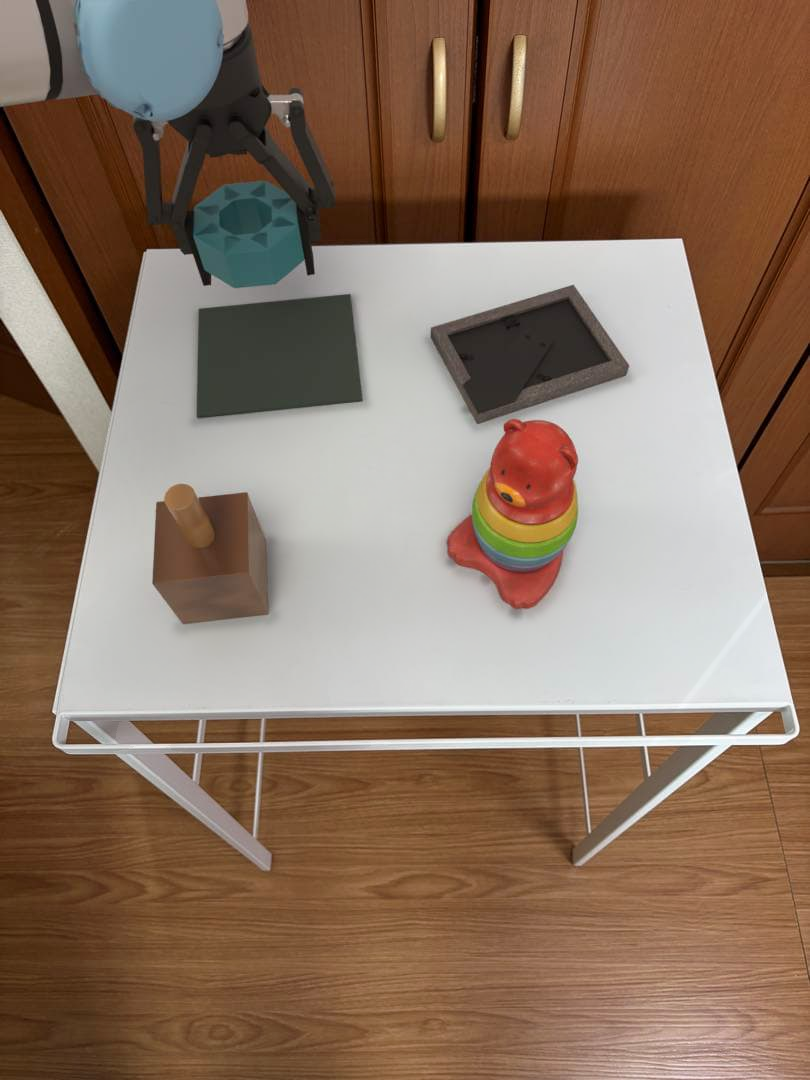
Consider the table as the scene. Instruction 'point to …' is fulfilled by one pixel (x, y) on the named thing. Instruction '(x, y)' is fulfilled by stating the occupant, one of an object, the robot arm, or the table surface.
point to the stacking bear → (522, 512)
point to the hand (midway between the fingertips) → (259, 270)
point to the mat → (276, 356)
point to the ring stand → (209, 556)
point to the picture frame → (527, 353)
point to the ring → (248, 234)
